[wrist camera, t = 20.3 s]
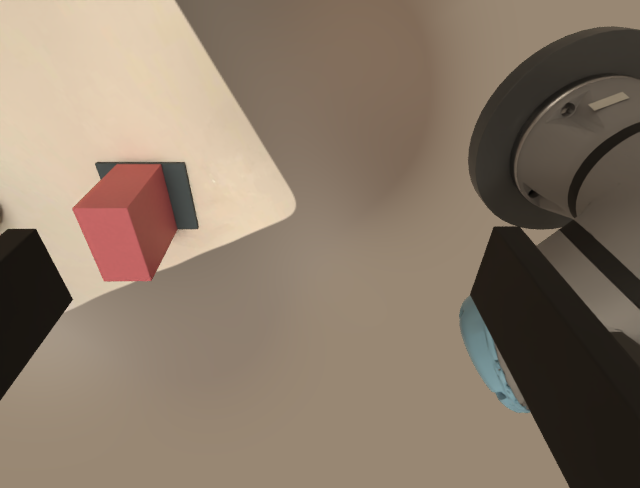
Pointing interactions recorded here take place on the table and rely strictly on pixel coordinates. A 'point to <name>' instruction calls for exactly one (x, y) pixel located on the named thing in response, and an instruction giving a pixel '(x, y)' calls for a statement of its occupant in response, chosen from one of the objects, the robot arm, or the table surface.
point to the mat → (169, 190)
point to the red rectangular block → (128, 221)
